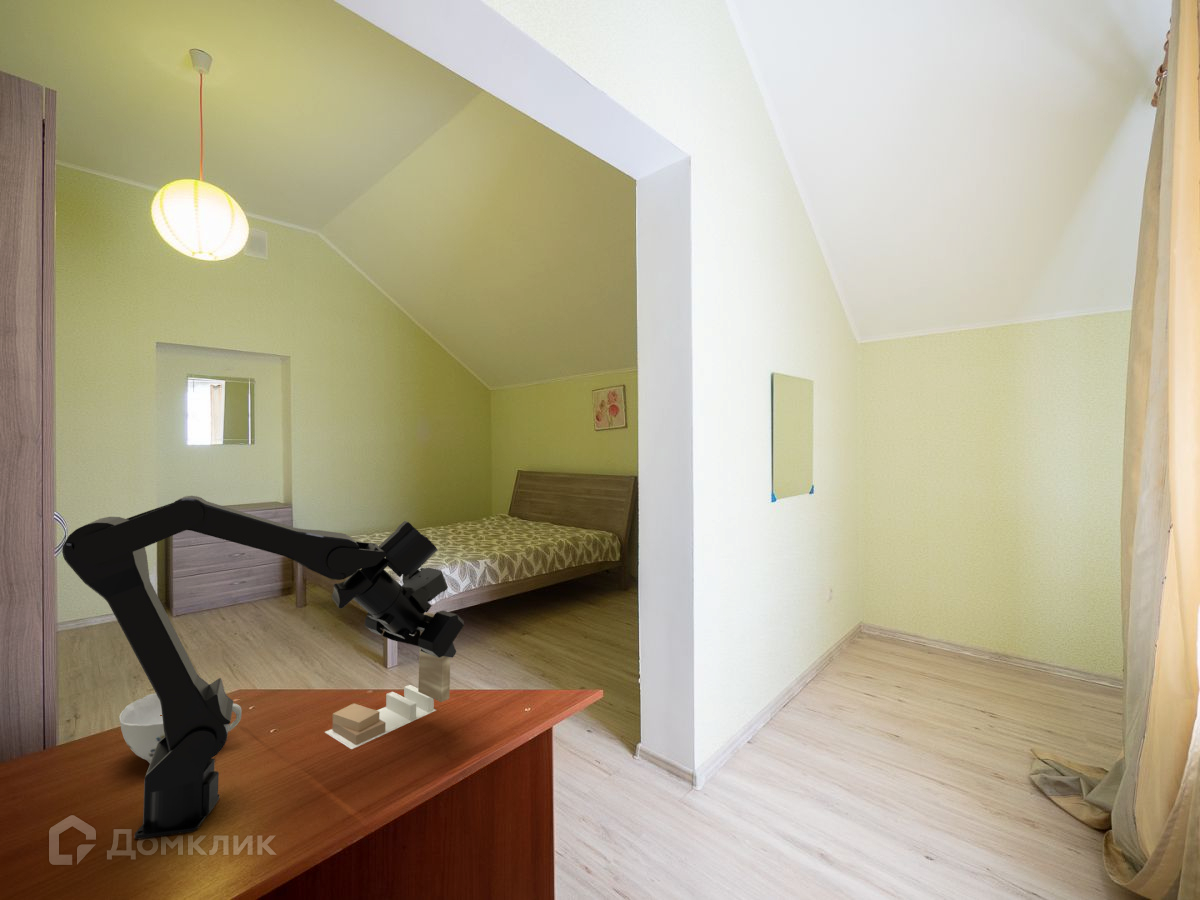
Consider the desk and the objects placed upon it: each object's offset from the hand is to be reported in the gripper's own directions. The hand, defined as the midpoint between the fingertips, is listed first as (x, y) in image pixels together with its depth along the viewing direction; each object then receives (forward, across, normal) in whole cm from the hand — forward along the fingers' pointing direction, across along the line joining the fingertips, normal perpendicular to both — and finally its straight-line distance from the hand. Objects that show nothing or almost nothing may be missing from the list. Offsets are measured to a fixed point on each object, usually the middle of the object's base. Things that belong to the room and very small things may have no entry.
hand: (441, 650), depth 88 cm
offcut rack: (+6, +9, +13) cm, 17 cm away
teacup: (-10, +25, +30) cm, 40 cm away
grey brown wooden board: (+4, 0, +6) cm, 7 cm away
